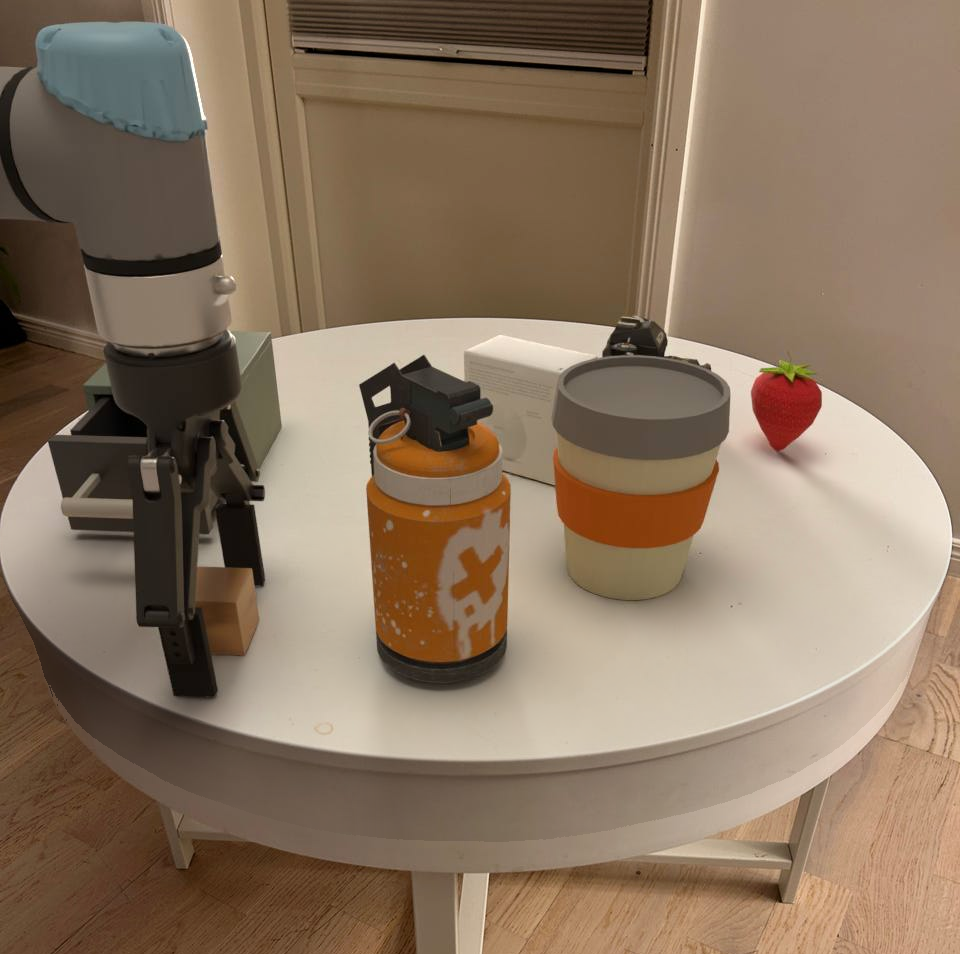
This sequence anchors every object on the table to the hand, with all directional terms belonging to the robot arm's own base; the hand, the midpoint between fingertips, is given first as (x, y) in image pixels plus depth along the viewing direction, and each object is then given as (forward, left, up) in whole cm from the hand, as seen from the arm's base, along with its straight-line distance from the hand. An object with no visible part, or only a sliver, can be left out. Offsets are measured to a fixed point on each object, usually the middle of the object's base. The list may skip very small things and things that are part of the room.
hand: (223, 634), depth 70 cm
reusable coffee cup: (+29, +11, 0) cm, 31 cm away
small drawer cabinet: (-10, +29, 0) cm, 31 cm away
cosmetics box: (+21, +30, 0) cm, 36 cm away
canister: (+15, 0, 0) cm, 15 cm away
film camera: (+33, +40, 0) cm, 52 cm away
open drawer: (-10, +17, +1) cm, 19 cm away
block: (0, 0, 0) cm, 0 cm away
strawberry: (+45, +34, 0) cm, 56 cm away
